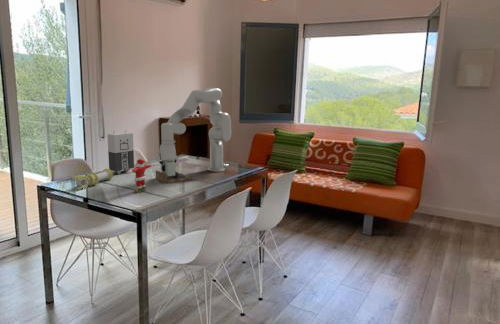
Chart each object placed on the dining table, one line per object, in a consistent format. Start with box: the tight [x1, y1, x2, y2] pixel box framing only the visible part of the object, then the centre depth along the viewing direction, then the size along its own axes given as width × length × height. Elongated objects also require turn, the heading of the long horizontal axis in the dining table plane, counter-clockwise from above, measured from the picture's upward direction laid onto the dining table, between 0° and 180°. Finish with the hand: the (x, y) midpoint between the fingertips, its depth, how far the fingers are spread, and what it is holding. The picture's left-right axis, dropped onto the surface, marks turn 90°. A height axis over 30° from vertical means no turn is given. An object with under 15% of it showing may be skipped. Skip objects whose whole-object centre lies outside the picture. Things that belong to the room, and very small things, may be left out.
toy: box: [107, 129, 135, 175], centre depth 255 cm, size 15×7×30 cm, turn 145°
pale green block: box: [160, 160, 176, 176], centre depth 239 cm, size 5×12×8 cm, turn 33°
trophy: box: [71, 168, 114, 190], centre depth 224 cm, size 8×8×30 cm
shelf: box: [155, 170, 192, 185], centre depth 242 cm, size 18×16×5 cm
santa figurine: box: [125, 158, 155, 194], centre depth 211 cm, size 25×6×19 cm, turn 159°
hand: (168, 170), depth 240 cm, fingers closed on pale green block, 5 cm apart
